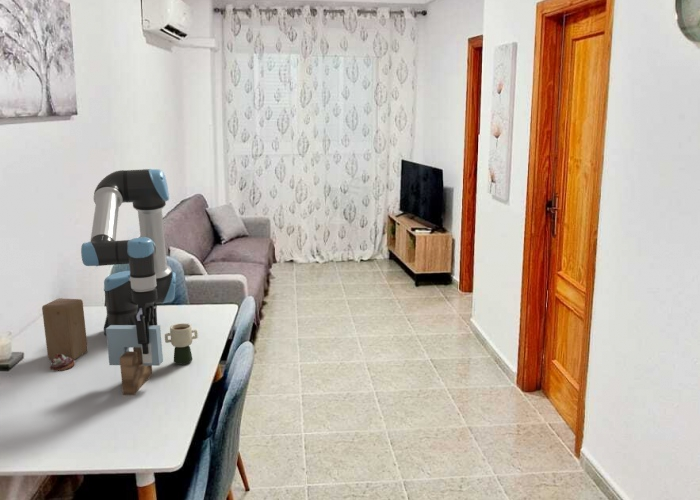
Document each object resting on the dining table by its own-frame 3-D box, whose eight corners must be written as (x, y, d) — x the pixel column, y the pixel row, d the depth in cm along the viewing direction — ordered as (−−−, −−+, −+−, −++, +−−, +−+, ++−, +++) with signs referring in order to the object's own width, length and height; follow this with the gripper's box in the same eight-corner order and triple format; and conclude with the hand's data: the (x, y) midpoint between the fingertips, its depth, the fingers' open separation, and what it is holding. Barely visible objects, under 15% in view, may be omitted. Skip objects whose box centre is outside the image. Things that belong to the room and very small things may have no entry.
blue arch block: (109, 365, 212) (105, 328, 209) (113, 360, 215) (110, 325, 213) (159, 365, 211) (156, 329, 208) (163, 361, 214) (160, 325, 212)
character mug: (197, 356, 237) (195, 321, 234) (201, 363, 230) (198, 327, 228) (165, 361, 233) (162, 325, 230) (168, 368, 227) (165, 331, 224)
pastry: (45, 369, 228) (43, 355, 227) (62, 361, 235) (61, 348, 234) (62, 373, 225) (61, 359, 224) (80, 365, 232) (78, 351, 231)
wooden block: (72, 362, 234) (66, 307, 229) (47, 360, 236) (40, 305, 231) (89, 351, 243) (83, 298, 239) (64, 350, 245) (58, 297, 241)
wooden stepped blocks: (142, 373, 223) (138, 339, 220) (152, 373, 222) (149, 339, 220) (123, 394, 207) (119, 357, 204) (134, 394, 207) (130, 357, 204)
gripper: (141, 281, 216) (147, 350, 221) (121, 296, 200) (128, 370, 205) (164, 281, 215) (170, 350, 221) (146, 296, 199) (152, 370, 204)
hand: (150, 360), depth 213 cm, fingers closed on blue arch block, 3 cm apart
